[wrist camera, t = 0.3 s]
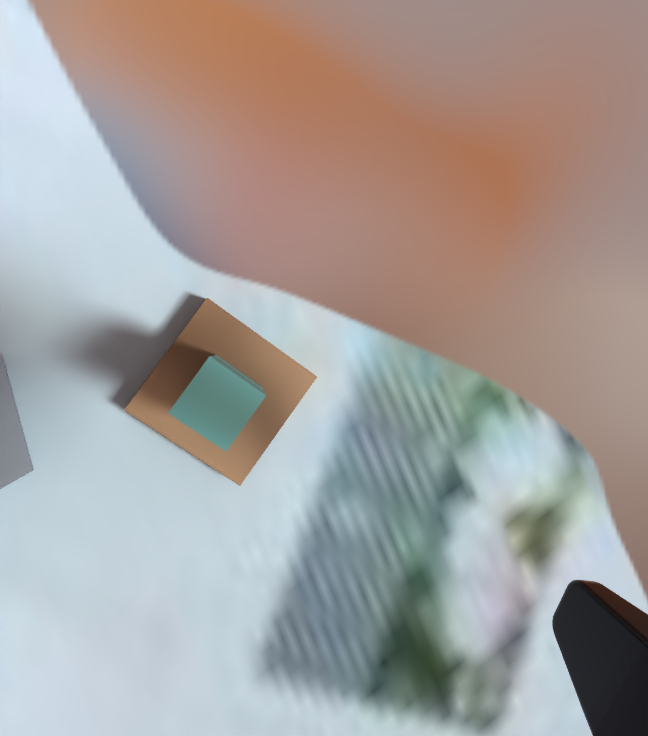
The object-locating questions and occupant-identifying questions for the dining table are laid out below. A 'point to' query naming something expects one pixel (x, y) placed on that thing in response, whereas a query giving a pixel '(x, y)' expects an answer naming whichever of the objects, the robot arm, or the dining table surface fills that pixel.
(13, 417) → the tall grey pillar
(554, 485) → the dining table surface
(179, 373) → the post plinth
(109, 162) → the dining table surface
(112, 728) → the dining table surface
